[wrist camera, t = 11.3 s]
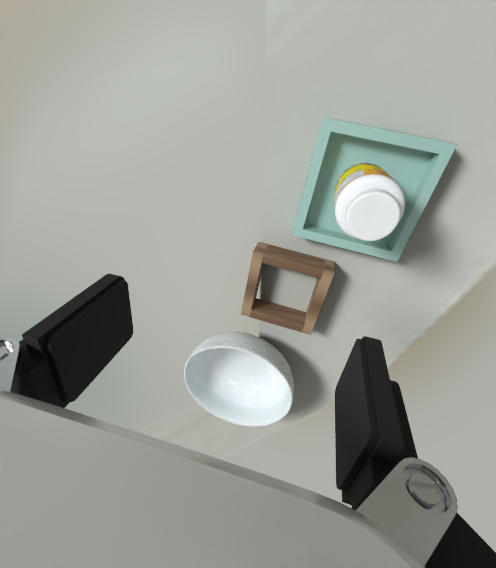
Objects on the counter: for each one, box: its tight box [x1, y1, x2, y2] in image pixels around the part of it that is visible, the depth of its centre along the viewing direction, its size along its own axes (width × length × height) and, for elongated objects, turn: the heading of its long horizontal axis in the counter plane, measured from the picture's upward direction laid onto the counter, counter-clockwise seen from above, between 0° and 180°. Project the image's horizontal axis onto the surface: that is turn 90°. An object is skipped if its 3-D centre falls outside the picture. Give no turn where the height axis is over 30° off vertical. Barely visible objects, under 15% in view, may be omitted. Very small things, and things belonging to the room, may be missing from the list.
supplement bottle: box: [334, 163, 405, 241], centre depth 27 cm, size 6×6×10 cm
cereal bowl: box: [184, 332, 294, 426], centre depth 46 cm, size 17×17×7 cm
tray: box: [292, 117, 457, 262], centre depth 30 cm, size 12×12×2 cm
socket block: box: [241, 242, 335, 335], centre depth 38 cm, size 10×10×3 cm
